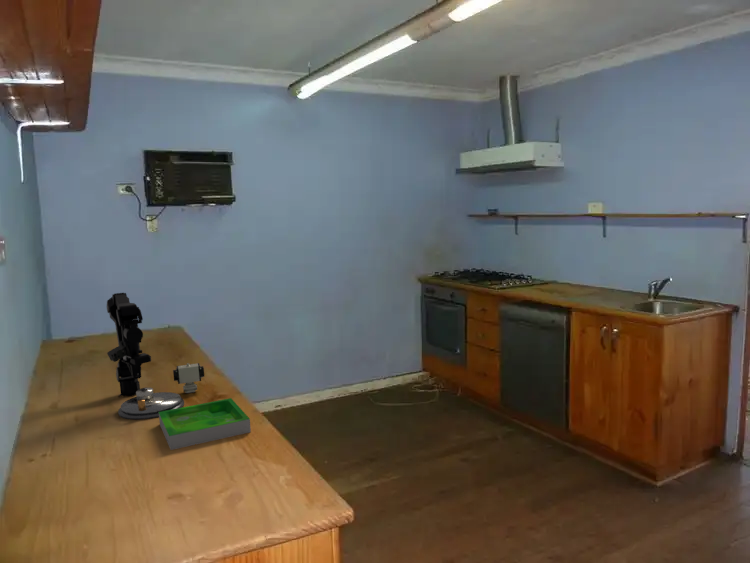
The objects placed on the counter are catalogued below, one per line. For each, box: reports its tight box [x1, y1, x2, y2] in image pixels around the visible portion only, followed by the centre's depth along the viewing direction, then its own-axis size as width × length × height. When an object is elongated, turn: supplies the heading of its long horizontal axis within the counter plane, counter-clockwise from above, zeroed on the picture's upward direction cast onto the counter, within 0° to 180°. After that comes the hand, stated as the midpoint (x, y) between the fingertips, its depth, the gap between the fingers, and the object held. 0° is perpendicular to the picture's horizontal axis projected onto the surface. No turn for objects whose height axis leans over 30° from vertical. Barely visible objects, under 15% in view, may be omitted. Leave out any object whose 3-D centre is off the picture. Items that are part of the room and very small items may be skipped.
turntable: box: [120, 391, 182, 415], centre depth 213 cm, size 21×21×5 cm
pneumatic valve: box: [172, 362, 205, 394], centre depth 231 cm, size 6×12×12 cm, turn 110°
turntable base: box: [117, 397, 185, 421], centre depth 213 cm, size 23×23×1 cm
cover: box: [135, 387, 154, 400], centre depth 217 cm, size 6×6×4 cm
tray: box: [158, 397, 252, 451], centre depth 191 cm, size 25×25×5 cm
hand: (134, 377), depth 217 cm, fingers closed
